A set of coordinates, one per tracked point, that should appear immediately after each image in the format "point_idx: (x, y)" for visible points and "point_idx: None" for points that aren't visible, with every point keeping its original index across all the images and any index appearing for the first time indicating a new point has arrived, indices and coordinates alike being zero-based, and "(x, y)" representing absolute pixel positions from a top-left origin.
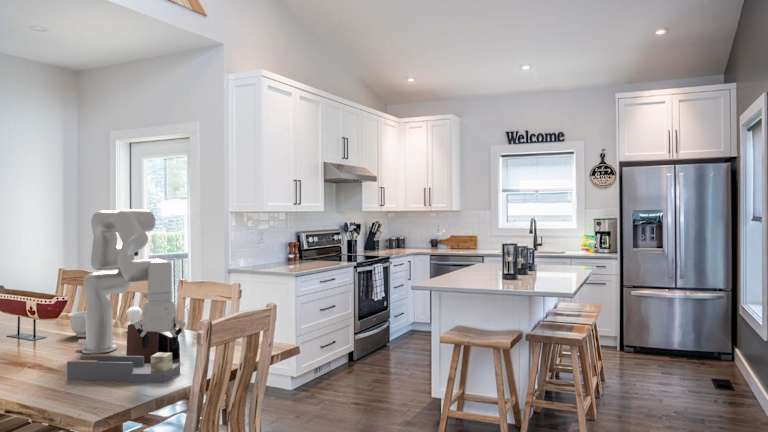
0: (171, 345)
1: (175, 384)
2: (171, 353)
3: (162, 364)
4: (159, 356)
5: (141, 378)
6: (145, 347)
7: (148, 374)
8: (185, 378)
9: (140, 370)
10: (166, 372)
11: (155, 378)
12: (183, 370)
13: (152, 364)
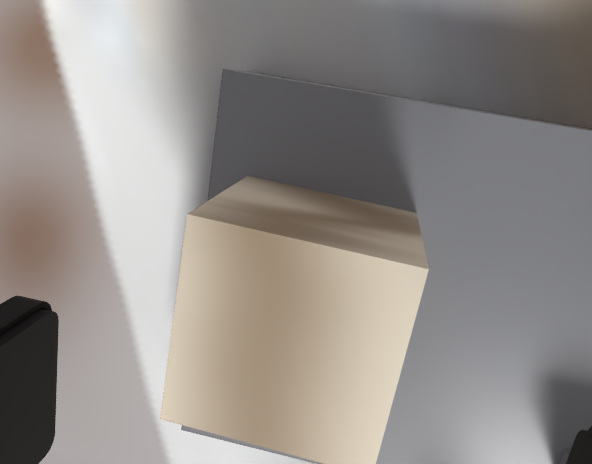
0: (13, 330)
1: (140, 27)
2: (165, 398)
3: (261, 199)
4: (280, 233)
5: (494, 113)
6: (583, 447)
7: (416, 102)
8: (111, 208)
9: (548, 256)
10: (223, 136)
11: (336, 87)
12: (199, 440)
13: (397, 226)
